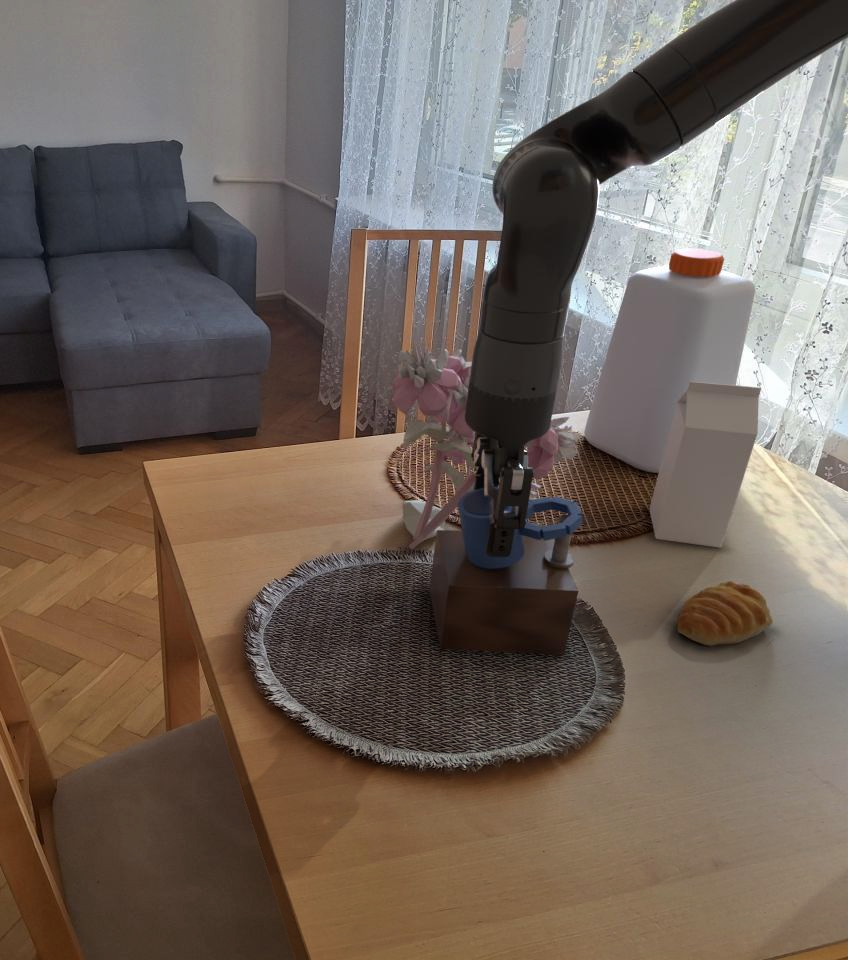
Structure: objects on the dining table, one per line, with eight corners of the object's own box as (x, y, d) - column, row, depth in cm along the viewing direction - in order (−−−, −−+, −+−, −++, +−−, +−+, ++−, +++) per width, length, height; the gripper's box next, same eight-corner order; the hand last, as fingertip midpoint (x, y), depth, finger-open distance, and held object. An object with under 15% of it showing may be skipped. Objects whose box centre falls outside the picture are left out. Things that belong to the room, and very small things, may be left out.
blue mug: (574, 521, 87) (569, 470, 84) (591, 554, 81) (585, 501, 79) (462, 540, 89) (453, 491, 87) (471, 574, 84) (462, 522, 81)
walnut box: (548, 595, 94) (569, 492, 87) (571, 656, 85) (596, 547, 79) (429, 590, 95) (441, 488, 89) (440, 649, 86) (454, 541, 80)
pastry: (718, 662, 84) (728, 631, 82) (655, 625, 89) (664, 595, 87) (774, 629, 88) (785, 599, 86) (711, 596, 93) (720, 567, 91)
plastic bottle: (655, 482, 115) (709, 275, 101) (569, 438, 127) (607, 247, 113) (733, 458, 120) (794, 258, 106) (644, 418, 132) (689, 234, 118)
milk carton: (721, 549, 101) (768, 400, 91) (654, 539, 103) (694, 393, 93) (711, 518, 106) (754, 376, 97) (648, 510, 109) (685, 370, 99)
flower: (561, 595, 91) (620, 363, 89) (352, 544, 96) (402, 324, 94) (538, 567, 111) (585, 376, 108) (365, 526, 116) (407, 343, 113)
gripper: (577, 412, 70) (545, 574, 78) (539, 351, 83) (514, 496, 91) (483, 410, 71) (460, 570, 79) (459, 349, 84) (441, 493, 91)
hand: (489, 530), depth 85 cm, fingers open, 8 cm apart
